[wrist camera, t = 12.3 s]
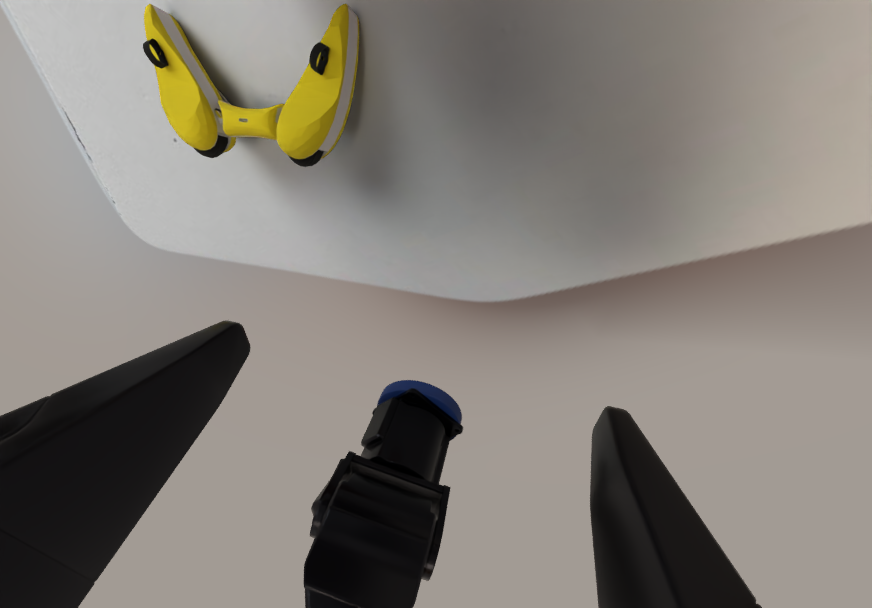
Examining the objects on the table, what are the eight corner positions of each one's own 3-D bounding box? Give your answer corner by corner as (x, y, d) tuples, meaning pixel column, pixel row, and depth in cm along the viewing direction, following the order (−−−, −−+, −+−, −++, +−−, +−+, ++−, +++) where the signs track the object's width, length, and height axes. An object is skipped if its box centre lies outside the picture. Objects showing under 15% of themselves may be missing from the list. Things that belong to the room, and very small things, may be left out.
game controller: (205, 159, 21) (145, 150, 18) (195, 29, 19) (126, -8, 16) (367, 174, 19) (334, 167, 16) (373, 31, 17) (337, -10, 14)
